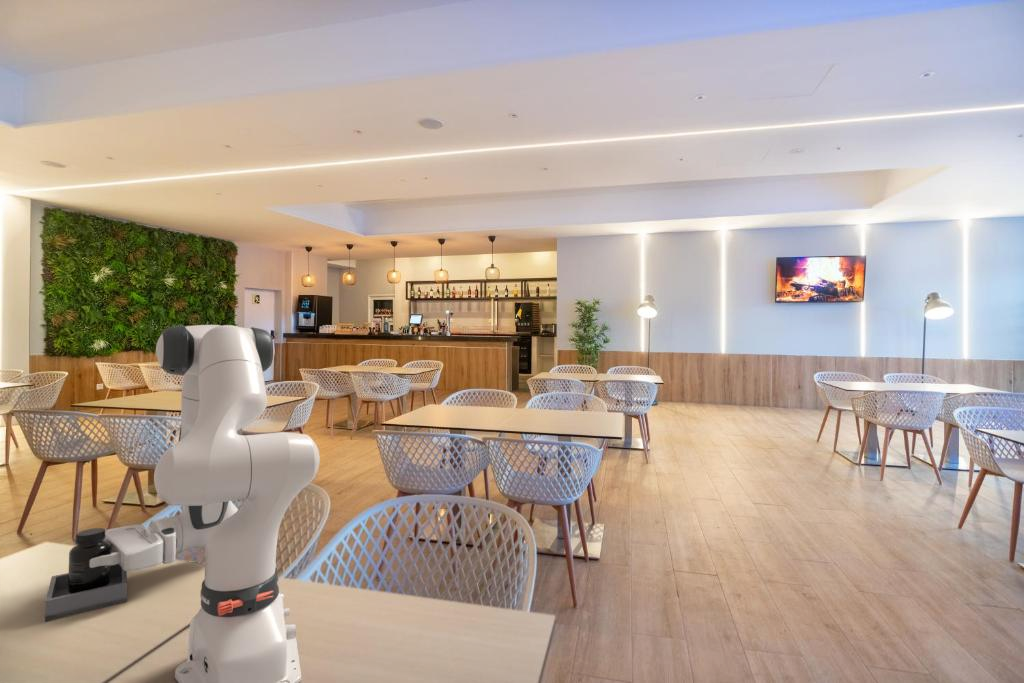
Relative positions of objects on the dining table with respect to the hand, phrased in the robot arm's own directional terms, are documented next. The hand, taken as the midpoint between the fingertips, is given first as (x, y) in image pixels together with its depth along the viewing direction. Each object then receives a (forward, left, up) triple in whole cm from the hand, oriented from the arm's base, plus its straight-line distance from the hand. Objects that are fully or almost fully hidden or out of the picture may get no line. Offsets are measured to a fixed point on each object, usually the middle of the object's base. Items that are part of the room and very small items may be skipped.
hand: (84, 557), depth 105 cm
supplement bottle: (0, -1, -7) cm, 7 cm away
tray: (0, -1, -9) cm, 9 cm away
